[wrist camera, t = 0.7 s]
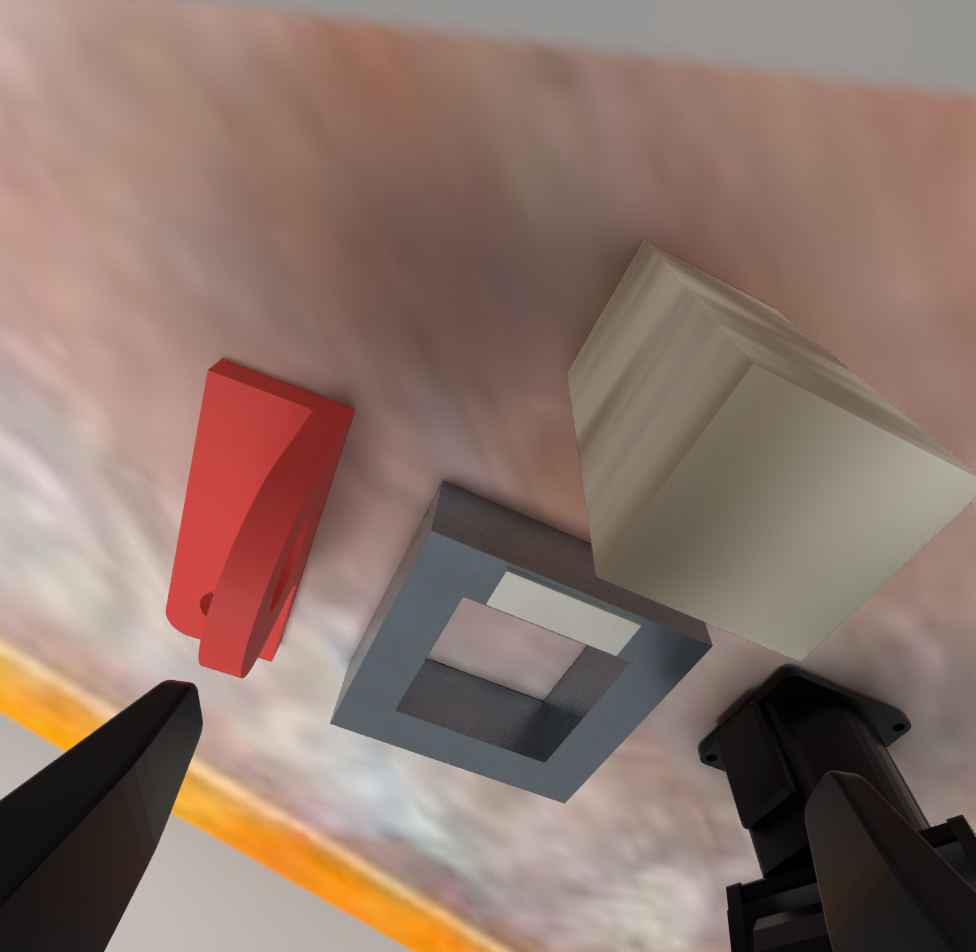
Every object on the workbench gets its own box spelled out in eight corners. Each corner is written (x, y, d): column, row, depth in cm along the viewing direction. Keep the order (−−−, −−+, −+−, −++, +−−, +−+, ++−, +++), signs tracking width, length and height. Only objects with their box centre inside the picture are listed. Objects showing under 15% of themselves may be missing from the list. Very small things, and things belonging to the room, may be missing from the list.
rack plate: (692, 587, 24) (714, 650, 21) (561, 741, 29) (564, 808, 26) (442, 481, 22) (430, 534, 19) (348, 665, 27) (328, 727, 24)
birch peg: (774, 308, 18) (990, 484, 10) (686, 430, 21) (800, 661, 12) (644, 239, 18) (753, 363, 9) (567, 373, 20) (596, 576, 11)
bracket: (223, 357, 20) (69, 483, 13) (355, 408, 21) (273, 551, 14) (176, 608, 26) (52, 784, 19) (281, 641, 27) (197, 822, 20)
